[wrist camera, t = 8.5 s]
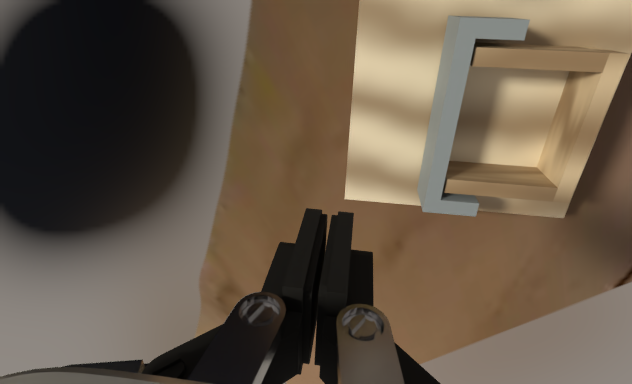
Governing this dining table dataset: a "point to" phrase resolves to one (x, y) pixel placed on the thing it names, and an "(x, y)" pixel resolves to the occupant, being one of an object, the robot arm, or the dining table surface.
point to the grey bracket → (455, 106)
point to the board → (485, 100)
